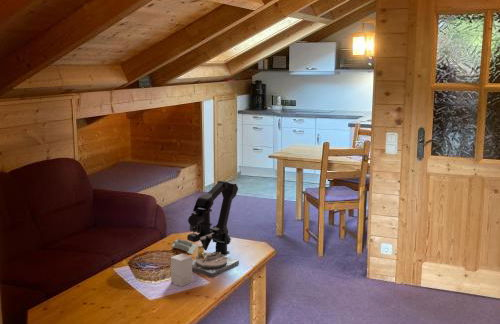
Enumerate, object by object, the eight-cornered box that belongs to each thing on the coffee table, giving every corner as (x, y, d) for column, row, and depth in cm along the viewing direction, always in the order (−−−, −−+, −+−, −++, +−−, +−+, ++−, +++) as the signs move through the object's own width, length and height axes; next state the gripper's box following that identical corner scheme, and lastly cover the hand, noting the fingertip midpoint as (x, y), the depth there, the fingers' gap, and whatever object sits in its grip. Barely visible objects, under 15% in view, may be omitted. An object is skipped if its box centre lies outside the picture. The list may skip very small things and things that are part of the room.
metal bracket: (170, 243, 290) (176, 235, 304) (167, 253, 291) (174, 244, 306) (195, 251, 289) (200, 243, 304) (192, 261, 290) (197, 252, 305)
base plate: (210, 256, 287) (210, 252, 287) (238, 263, 277) (238, 259, 276) (182, 268, 269) (182, 264, 269) (212, 277, 259) (212, 272, 258)
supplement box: (192, 282, 252) (192, 256, 250) (180, 286, 247) (180, 260, 245) (182, 277, 257) (182, 252, 255) (170, 282, 252) (170, 256, 250)
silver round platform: (232, 259, 276) (232, 247, 274) (216, 269, 262) (216, 256, 260) (206, 254, 283) (206, 241, 282) (189, 263, 269) (189, 250, 268)
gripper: (209, 214, 286) (210, 242, 289) (180, 221, 274) (181, 250, 276) (222, 218, 278) (223, 247, 280) (193, 226, 265) (194, 256, 268)
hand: (205, 250), depth 277 cm, fingers closed
